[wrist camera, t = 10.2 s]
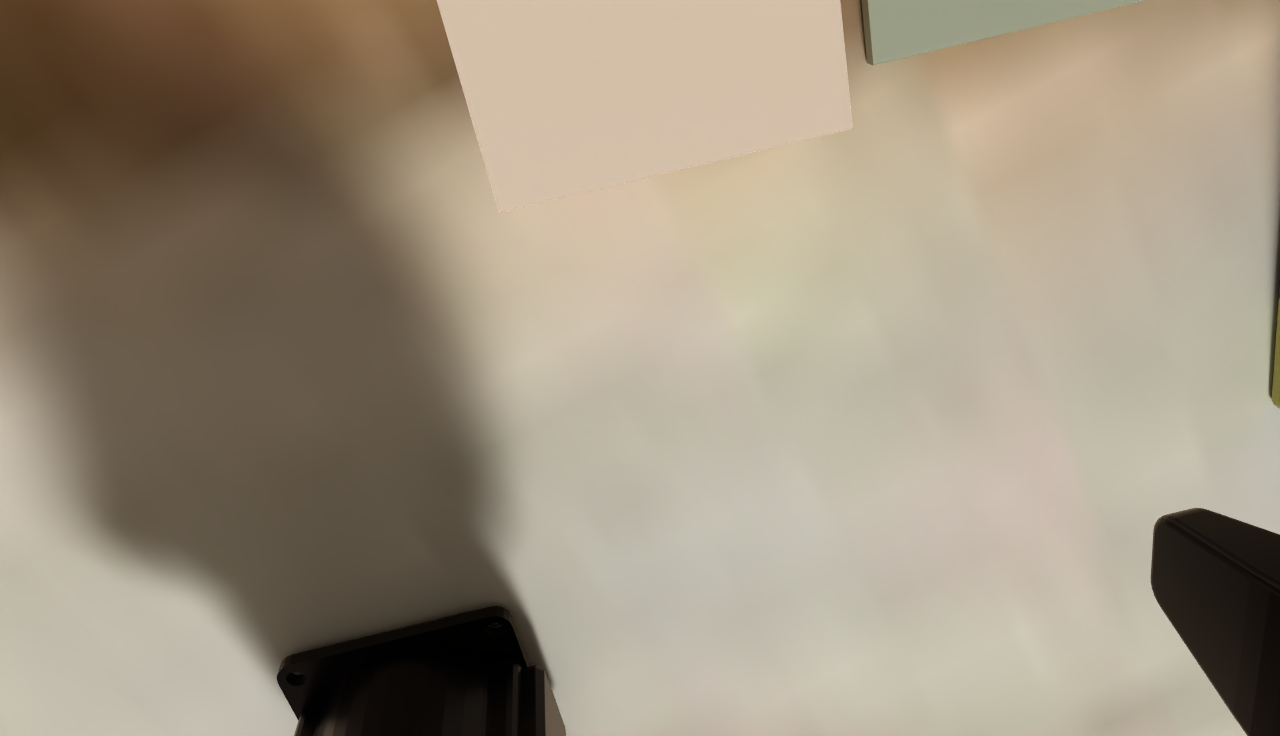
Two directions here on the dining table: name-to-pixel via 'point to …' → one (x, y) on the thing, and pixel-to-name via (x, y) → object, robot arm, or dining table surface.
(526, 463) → the dining table surface
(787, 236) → the dining table surface
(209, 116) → the dining table surface
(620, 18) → the box
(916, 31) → the mat
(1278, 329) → the protein box
